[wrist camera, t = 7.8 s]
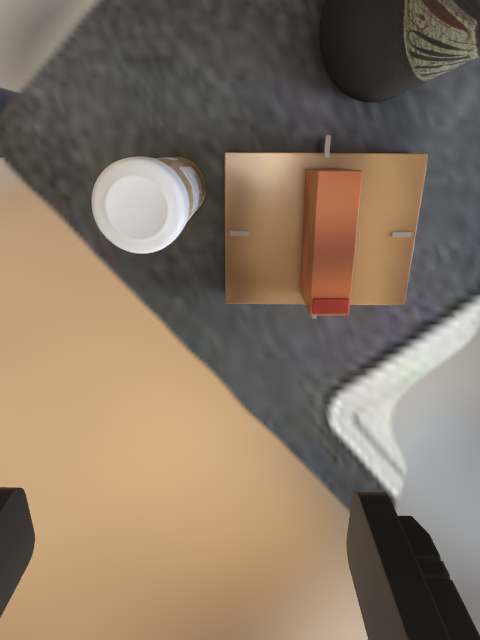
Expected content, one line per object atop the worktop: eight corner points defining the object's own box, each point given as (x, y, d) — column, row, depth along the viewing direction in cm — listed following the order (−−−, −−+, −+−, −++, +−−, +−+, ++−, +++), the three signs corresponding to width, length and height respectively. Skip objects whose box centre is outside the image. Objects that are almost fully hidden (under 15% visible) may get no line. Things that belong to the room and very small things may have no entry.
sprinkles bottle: (156, 147, 31) (99, 142, 19) (214, 168, 32) (196, 176, 19) (142, 207, 33) (80, 238, 20) (197, 226, 33) (170, 267, 21)
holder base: (226, 304, 36) (225, 317, 33) (225, 136, 31) (224, 134, 28) (390, 305, 36) (403, 319, 33) (414, 137, 31) (432, 135, 28)
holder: (305, 168, 29) (318, 170, 24) (343, 168, 29) (364, 170, 24) (299, 292, 32) (310, 316, 27) (333, 292, 32) (349, 316, 27)
